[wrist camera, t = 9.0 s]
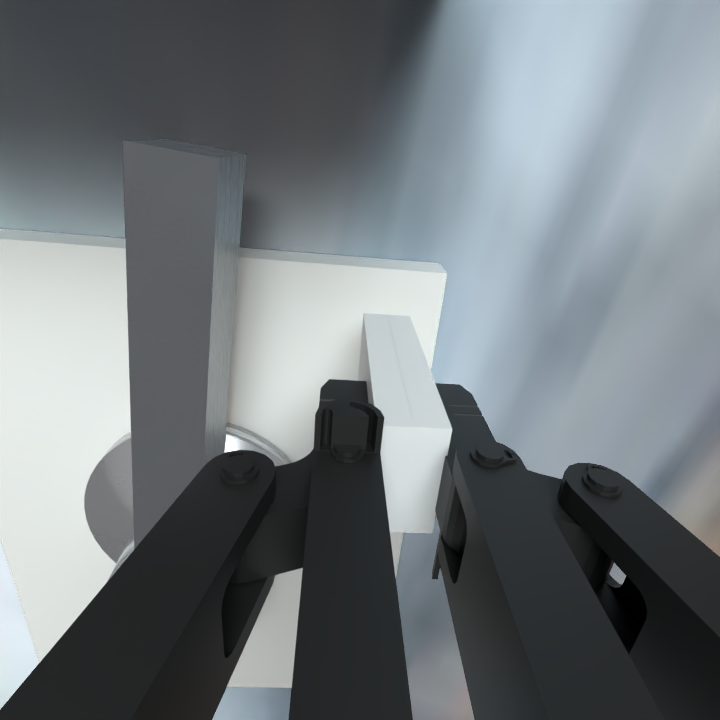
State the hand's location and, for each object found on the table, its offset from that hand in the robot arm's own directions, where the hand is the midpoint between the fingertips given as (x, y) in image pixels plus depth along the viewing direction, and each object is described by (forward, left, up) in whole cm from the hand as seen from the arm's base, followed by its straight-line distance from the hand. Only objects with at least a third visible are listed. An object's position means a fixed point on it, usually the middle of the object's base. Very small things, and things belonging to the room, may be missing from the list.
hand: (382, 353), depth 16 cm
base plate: (-10, +7, -4) cm, 12 cm away
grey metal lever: (-4, +6, -2) cm, 7 cm away
